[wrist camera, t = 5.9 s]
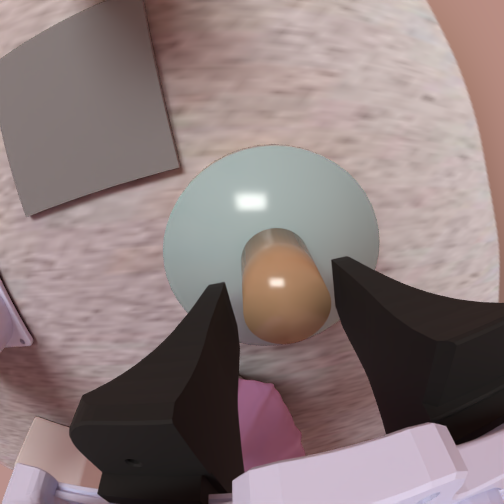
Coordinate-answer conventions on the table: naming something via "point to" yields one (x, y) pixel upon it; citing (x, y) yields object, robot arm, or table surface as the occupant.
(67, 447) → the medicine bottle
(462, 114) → the table surface
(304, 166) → the lid
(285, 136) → the table surface
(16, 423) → the table surface
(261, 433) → the toy character
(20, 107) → the mat
